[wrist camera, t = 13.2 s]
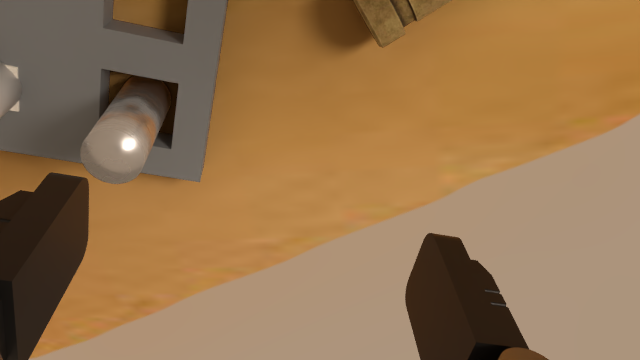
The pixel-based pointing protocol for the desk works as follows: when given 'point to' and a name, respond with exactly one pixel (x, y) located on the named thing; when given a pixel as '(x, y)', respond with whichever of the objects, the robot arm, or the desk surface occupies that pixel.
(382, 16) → the gavel
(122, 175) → the steel pin
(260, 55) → the desk surface
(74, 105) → the pin board
